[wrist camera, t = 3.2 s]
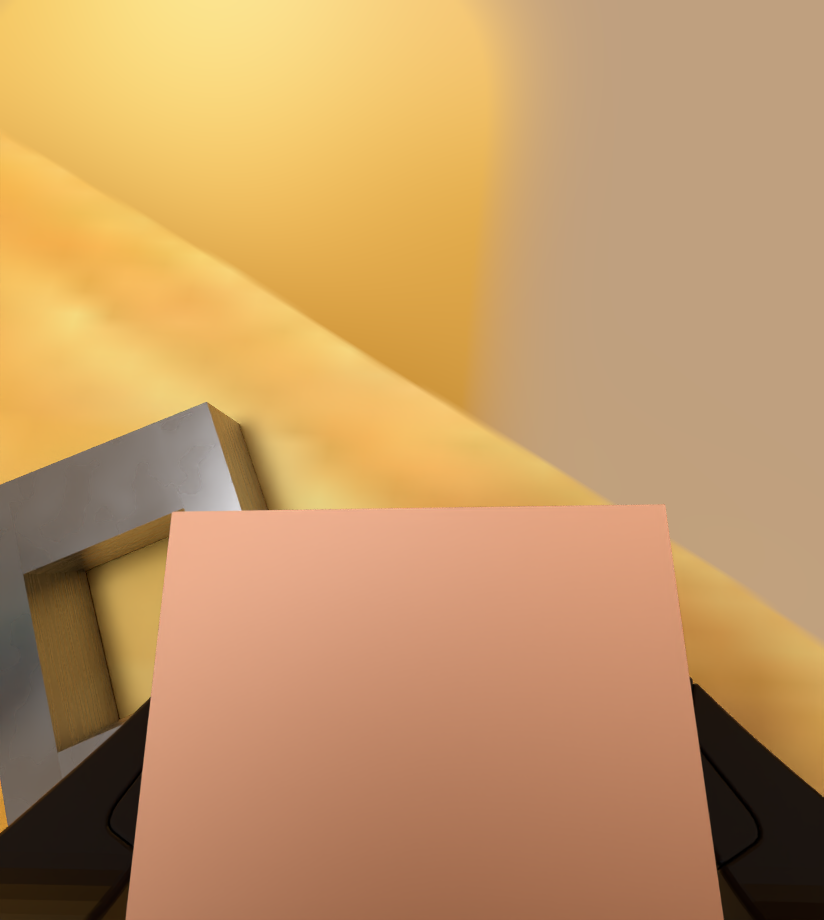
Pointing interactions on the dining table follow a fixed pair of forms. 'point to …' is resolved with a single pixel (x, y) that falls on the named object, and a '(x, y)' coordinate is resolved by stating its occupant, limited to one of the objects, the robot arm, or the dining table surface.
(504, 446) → the dining table surface
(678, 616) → the peg
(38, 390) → the dining table surface
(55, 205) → the dining table surface
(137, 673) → the dining table surface
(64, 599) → the rail
